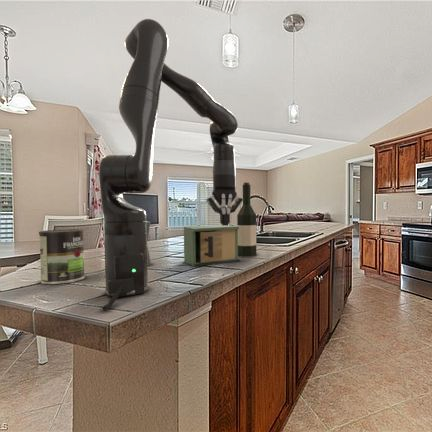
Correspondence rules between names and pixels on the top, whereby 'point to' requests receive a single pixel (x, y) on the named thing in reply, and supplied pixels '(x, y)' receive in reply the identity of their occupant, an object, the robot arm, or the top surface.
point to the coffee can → (61, 256)
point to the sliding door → (210, 246)
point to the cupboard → (194, 244)
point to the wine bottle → (246, 225)
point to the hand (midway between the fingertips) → (225, 225)
